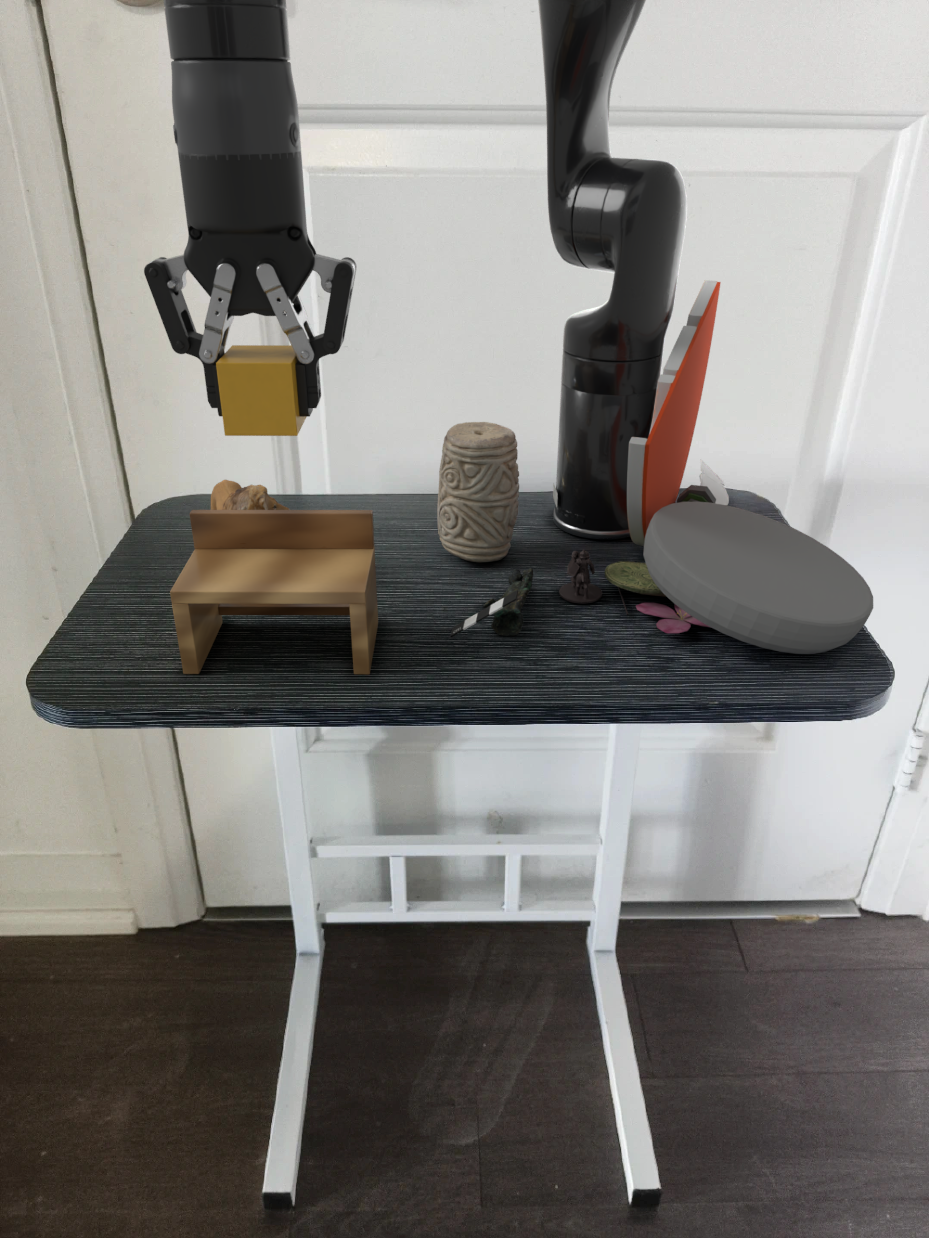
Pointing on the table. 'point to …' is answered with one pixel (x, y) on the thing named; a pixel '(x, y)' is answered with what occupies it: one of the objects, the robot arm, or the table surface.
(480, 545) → the carving
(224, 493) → the lion figurine
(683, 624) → the flower
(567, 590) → the figurine
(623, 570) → the medallion
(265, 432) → the block
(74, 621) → the table surface
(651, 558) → the decorative stone
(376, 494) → the table surface
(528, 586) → the figurine
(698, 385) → the wall plaque
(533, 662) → the table surface
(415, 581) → the table surface
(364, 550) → the bench
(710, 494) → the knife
